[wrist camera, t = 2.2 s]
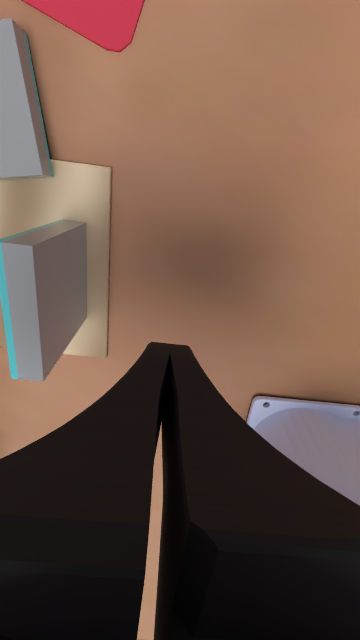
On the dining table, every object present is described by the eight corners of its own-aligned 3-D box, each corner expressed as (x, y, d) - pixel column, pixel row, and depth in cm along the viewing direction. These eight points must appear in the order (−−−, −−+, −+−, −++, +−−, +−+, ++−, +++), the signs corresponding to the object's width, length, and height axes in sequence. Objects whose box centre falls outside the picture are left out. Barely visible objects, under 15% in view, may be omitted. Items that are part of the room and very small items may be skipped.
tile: (86, 222, 17) (32, 245, 11) (87, 317, 20) (43, 381, 13) (61, 219, 17) (-8, 241, 11) (65, 314, 20) (11, 378, 13)
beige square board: (111, 167, 16) (110, 167, 16) (107, 355, 21) (106, 358, 21) (-119, 136, 16) (-125, 135, 15) (-69, 338, 21) (-72, 340, 20)
